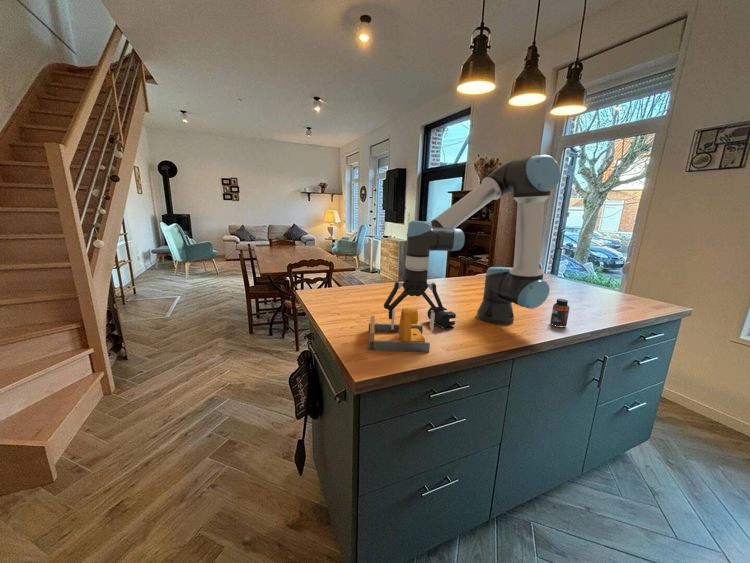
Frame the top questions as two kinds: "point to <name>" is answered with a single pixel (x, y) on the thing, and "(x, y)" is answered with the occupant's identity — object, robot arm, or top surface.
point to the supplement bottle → (560, 313)
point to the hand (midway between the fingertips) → (411, 328)
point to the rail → (394, 344)
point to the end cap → (444, 318)
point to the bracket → (409, 326)
